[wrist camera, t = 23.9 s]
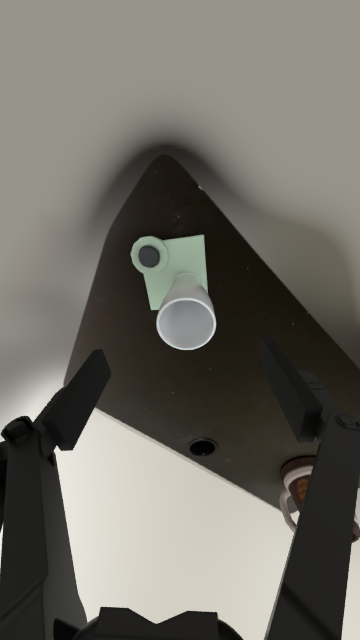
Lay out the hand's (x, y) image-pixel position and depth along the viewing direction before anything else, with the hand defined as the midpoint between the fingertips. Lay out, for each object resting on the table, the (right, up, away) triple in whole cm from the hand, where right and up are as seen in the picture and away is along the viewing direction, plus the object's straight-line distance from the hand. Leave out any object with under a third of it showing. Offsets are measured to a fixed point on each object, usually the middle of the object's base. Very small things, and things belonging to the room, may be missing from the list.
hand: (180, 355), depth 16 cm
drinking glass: (+1, +9, +19) cm, 21 cm away
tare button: (-5, +13, +15) cm, 21 cm away
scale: (-1, +11, +19) cm, 22 cm away
